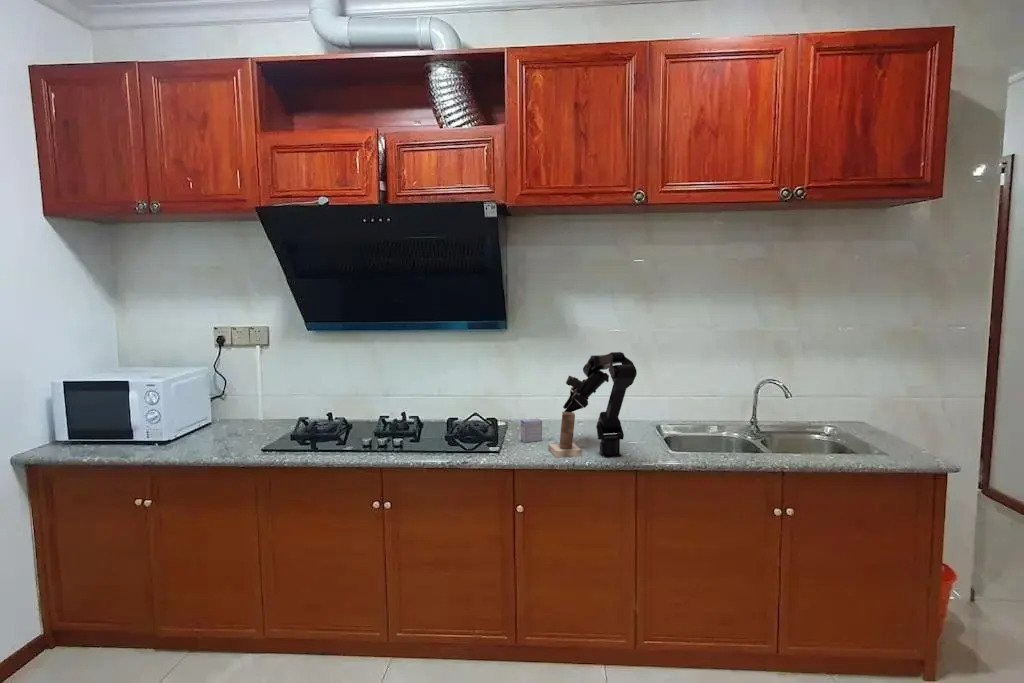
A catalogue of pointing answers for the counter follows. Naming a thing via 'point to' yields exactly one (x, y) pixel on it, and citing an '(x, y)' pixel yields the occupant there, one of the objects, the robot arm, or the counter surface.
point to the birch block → (564, 451)
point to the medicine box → (531, 430)
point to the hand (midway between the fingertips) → (564, 410)
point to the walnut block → (567, 430)
